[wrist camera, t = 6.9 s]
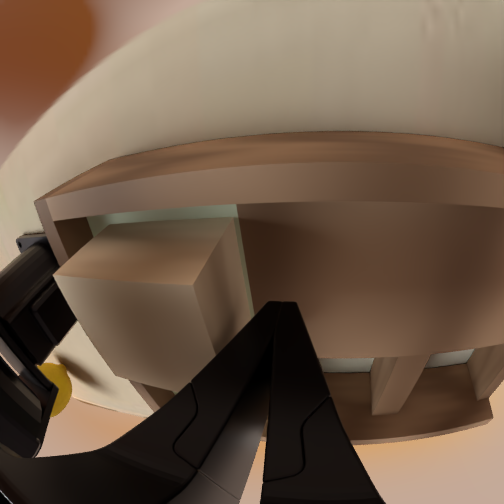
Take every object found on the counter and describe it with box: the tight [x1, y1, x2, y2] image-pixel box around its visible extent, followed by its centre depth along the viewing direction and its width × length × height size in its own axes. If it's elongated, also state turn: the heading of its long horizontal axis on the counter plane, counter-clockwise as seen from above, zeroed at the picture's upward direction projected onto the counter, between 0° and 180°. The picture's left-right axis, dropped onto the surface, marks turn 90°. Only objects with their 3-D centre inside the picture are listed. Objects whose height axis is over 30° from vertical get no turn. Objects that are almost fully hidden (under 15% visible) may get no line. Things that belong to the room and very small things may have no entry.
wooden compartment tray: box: [34, 131, 504, 445], centre depth 10 cm, size 20×14×4 cm
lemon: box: [37, 363, 72, 417], centre depth 23 cm, size 6×6×8 cm
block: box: [53, 217, 251, 392], centre depth 8 cm, size 4×4×3 cm
